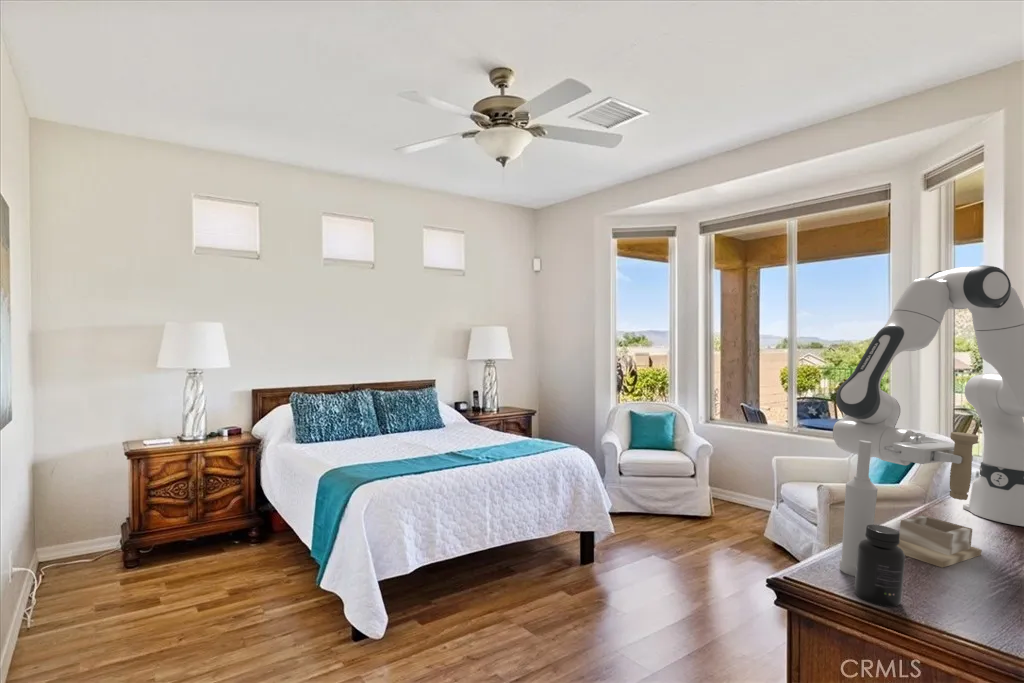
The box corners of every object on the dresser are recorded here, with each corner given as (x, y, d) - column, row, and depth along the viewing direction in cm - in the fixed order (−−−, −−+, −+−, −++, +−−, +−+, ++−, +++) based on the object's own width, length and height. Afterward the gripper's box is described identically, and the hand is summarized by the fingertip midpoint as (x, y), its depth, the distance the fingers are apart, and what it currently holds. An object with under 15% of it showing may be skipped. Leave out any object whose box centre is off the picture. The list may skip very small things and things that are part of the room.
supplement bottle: (845, 587, 102) (851, 520, 101) (885, 591, 101) (891, 523, 101) (867, 606, 95) (873, 534, 94) (910, 610, 94) (916, 537, 94)
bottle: (847, 576, 106) (858, 443, 106) (833, 565, 112) (844, 437, 111) (876, 579, 106) (887, 445, 106) (860, 568, 111) (871, 440, 111)
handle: (974, 499, 133) (980, 435, 133) (968, 503, 129) (974, 437, 129) (948, 493, 137) (954, 431, 137) (942, 497, 133) (948, 433, 132)
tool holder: (918, 536, 134) (920, 512, 134) (981, 555, 124) (983, 529, 124) (878, 546, 125) (880, 521, 125) (942, 567, 115) (944, 540, 115)
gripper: (880, 435, 138) (947, 447, 127) (921, 432, 149) (986, 444, 137) (878, 461, 139) (944, 476, 127) (919, 457, 149) (984, 470, 137)
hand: (966, 459), depth 132 cm, fingers closed on handle, 3 cm apart
